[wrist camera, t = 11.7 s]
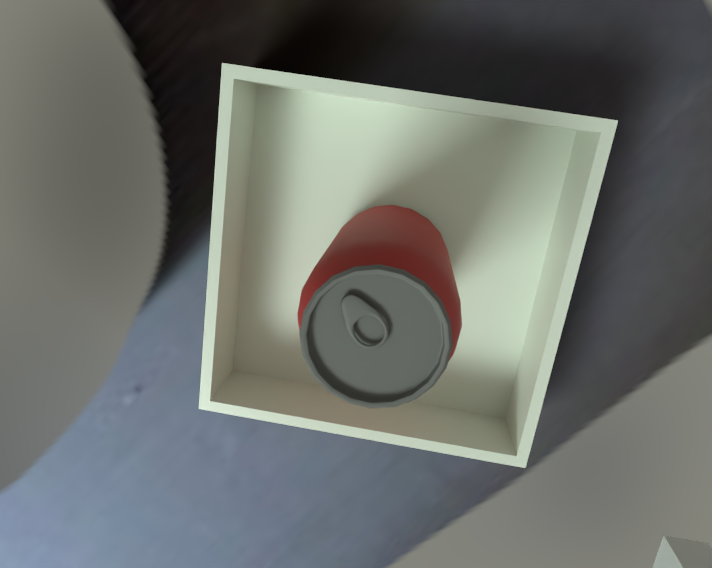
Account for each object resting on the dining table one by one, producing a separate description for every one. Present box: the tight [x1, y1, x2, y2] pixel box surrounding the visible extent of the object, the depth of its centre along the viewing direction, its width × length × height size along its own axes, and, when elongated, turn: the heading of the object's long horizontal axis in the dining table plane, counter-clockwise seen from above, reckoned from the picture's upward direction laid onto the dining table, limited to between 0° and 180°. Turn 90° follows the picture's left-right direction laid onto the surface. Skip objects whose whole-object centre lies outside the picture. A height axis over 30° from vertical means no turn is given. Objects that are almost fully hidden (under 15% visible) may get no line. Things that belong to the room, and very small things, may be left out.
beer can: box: [297, 205, 462, 408], centre depth 26 cm, size 7×7×12 cm
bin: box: [199, 63, 618, 468], centre depth 30 cm, size 18×18×5 cm
